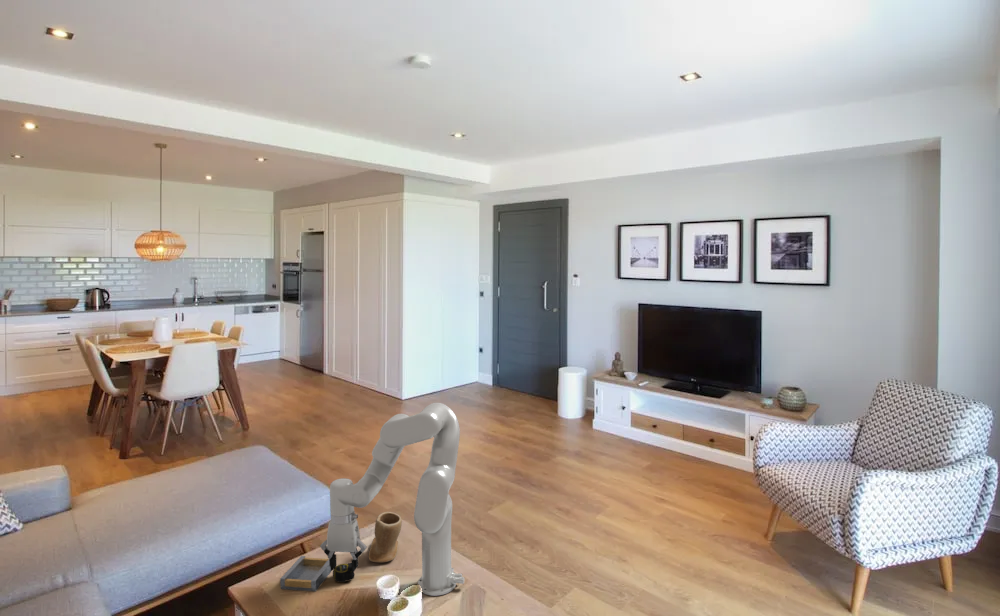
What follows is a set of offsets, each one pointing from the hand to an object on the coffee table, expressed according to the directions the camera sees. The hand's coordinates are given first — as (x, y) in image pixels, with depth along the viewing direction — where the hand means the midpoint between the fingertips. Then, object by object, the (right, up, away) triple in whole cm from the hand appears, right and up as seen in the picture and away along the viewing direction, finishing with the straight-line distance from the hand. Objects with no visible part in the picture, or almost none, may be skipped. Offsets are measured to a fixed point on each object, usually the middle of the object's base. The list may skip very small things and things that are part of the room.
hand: (344, 568), depth 181 cm
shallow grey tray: (-12, -4, +1) cm, 13 cm away
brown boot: (+11, -3, +16) cm, 20 cm away
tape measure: (0, -4, +1) cm, 4 cm away
